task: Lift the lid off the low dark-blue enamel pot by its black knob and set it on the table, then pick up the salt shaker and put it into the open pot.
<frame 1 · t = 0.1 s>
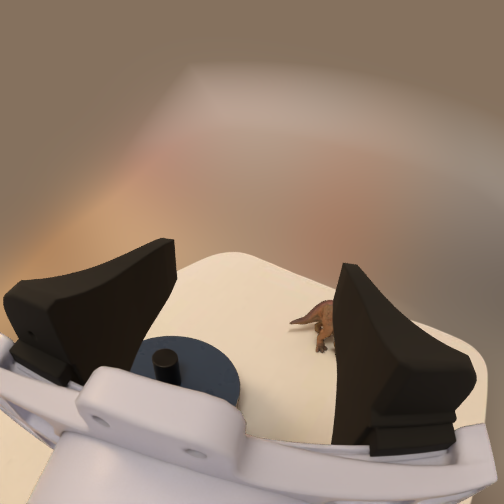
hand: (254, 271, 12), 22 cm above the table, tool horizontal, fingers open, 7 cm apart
lid: (169, 384, 26), point 4 cm above the table, touching pot
dinosaur figurine: (336, 346, 39), on the table
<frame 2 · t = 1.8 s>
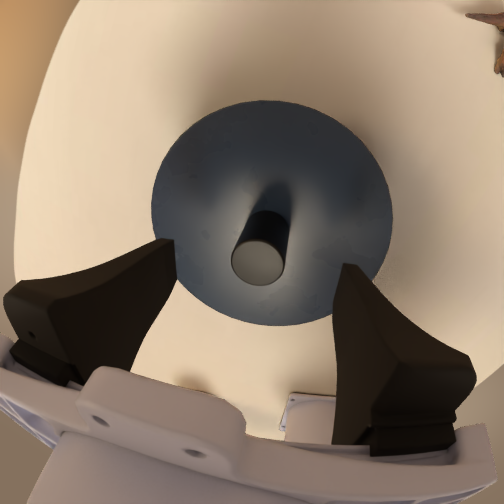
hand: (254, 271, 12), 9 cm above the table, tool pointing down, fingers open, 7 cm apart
lid: (268, 227, 16), point 4 cm above the table, touching pot
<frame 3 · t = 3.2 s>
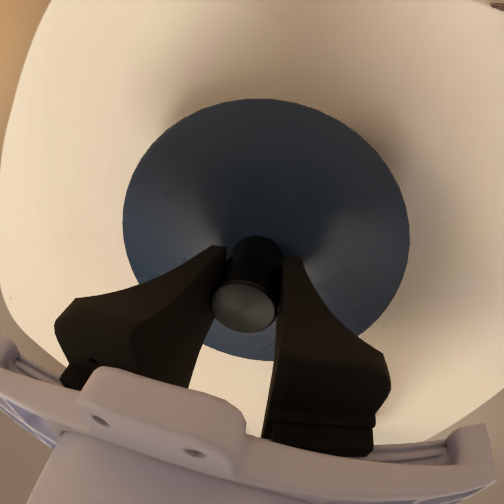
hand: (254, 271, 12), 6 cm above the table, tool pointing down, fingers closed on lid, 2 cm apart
lid: (259, 253, 14), point 4 cm above the table, touching gripper, pot
when the fingers open (2 cm above the table, at t = 7.7 s): lid stays where it is, point 1 cm above the table.
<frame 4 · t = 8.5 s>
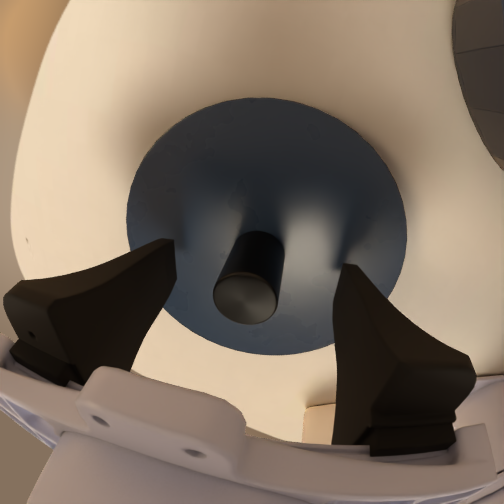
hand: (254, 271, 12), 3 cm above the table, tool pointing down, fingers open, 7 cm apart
lid: (260, 248, 14), point 1 cm above the table
salt shaker: (331, 411, 21), on the table
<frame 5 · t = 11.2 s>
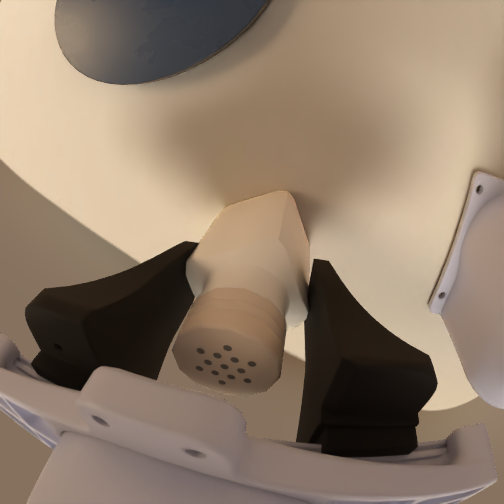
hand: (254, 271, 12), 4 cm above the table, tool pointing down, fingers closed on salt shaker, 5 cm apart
salt shaker: (267, 226, 16), on the table, touching gripper
when the fingers open (5 cm above the table, at t = 17.4 s): salt shaker stays where it is, resting on pot.
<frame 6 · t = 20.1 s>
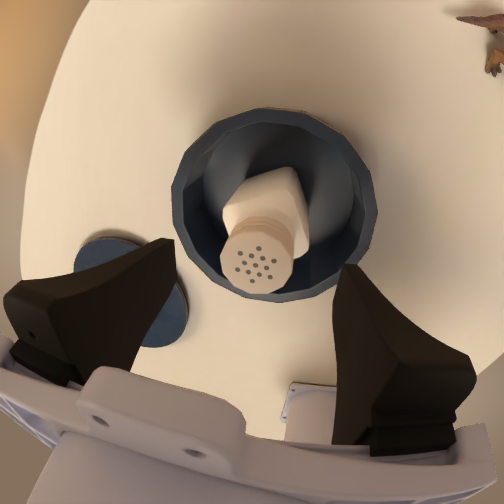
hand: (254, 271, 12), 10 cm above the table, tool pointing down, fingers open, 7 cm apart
pot: (277, 194, 21), on the table
lid: (126, 296, 28), point 1 cm above the table
salt shaker: (276, 195, 21), resting on pot
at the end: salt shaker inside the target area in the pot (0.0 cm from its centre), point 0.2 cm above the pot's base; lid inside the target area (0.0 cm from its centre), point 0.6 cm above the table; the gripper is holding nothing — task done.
